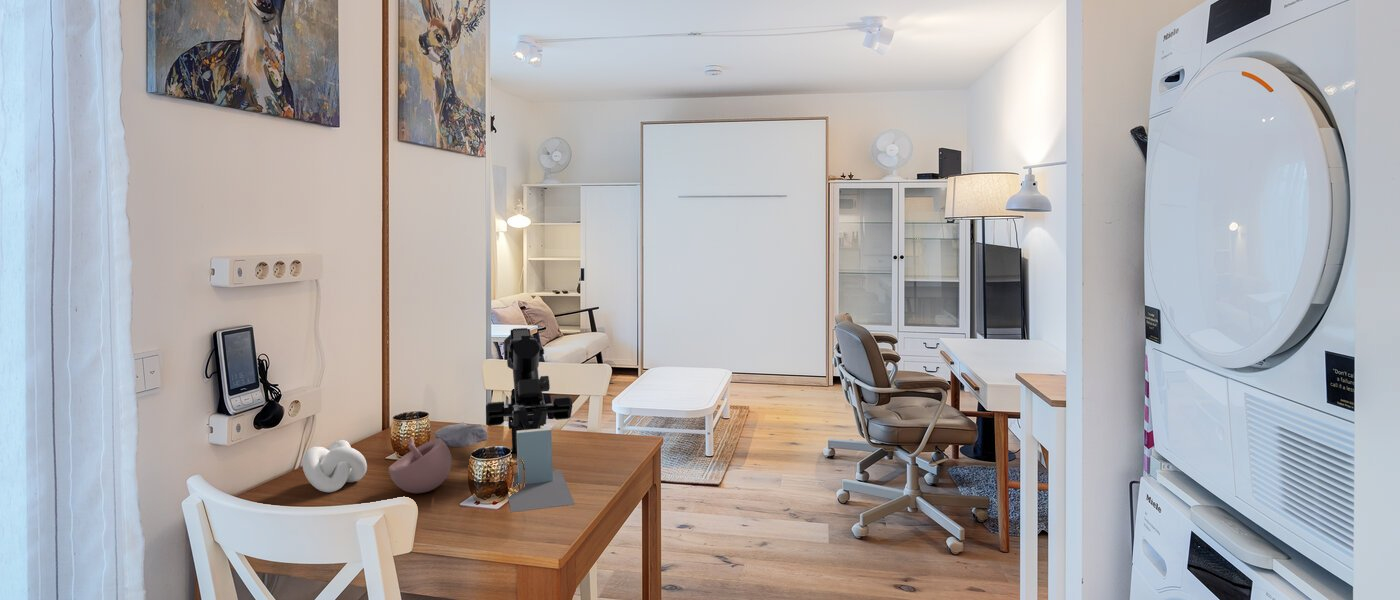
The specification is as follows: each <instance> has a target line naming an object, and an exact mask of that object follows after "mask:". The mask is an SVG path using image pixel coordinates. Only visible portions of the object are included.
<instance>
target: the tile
mask: <svg viewBox="0 0 1400 600" xmlns="http://www.w3.org/2000/svg"><path fill="white" fill-rule="evenodd" d="M516 432H517V453H516V455H517V456H516V457H517V458H516V460H517V461H518V462H517V474H518V483H519V485H520V484H522V482H523V464H522V462H521V461H519V460H520V459H522V460H523V462H524V468H525V484H530V483H539V482H548V481H553V445H552V444H553V443H552V442H553V441H552V440H553V439H552V437H553V436H552V429H551V427H543V428H541V427H540V429H530V430H519V431H516Z"/></svg>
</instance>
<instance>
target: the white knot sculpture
mask: <svg viewBox="0 0 1400 600" xmlns="http://www.w3.org/2000/svg"><path fill="white" fill-rule="evenodd" d="M301 465H302V470H303V473H304V475H305V477H306V479H307V481H308V482H309V484H311V485H312V487H314V488H315V489H317V490H318V491H320V492H324V493H334V492H337V491H338V490H340V489H341V488H342V487H343V486H344V485H345V484H346V483H355V482H357V481H360V480H361V479H363V478H364V476H365V474H367V469H368V464H367V460H366V458H365V456H364V455H363V454H362V453H361V452H360V451H359V450H357V449H355V448H353V447H351V445H350V443H349V442H348V441H347V440H344V439H339V440H336V441H334V442H333V443H331V445H329V447H328V448H326V447H323V446H312V447H311V448H308V449H307V450H306V451H305V453H304V454H303V456H302V460H301Z"/></svg>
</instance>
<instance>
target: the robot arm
mask: <svg viewBox="0 0 1400 600" xmlns="http://www.w3.org/2000/svg"><path fill="white" fill-rule="evenodd" d="M544 354H545V349H544V347H543V346H542V345H541V342H538V339H537V338H535V337H534V336H532V334H531V329H530V328H528V327H524V328H523V327H522V328H521V327H519V328H512V329H510V334H509V336H507V338H505V339H504V341H503V355H504V361H506V364H507V367H508V368H509V369H511V370H512V376H513V377H512V378H513V386H514V387H513V389H511V394H510V403H508V404H507V407H505V401H493V402H492V401H491V402H488V403H486V405H485V423H486V426H488V427H491V426H501V425H502V424H503V423H504V422H505V418H507V422H508V423H507V424H508V430H511V450H512V452H514V453H513V454H517V432H516V431H519V430H530V429H541V427H544V426H545V425H546V424H547V417H548V413H549V414H550V413H551V414H552V417H553V418H554V419H555V420H559V421H560V420H568V419H570V418H571V417H572V411H573V400H572V398H571V397H570V396H569V395H568V396H557V397H553V401H552V403H544V401H543V398H544V397H543V393H544V392H549V391H550V389H551V388H550V376H549V375H542V376H541V375H540V377H539V369H538V368H539V367H540V366H539V364H540V358H542V356H543V355H544Z"/></svg>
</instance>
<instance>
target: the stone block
mask: <svg viewBox="0 0 1400 600" xmlns="http://www.w3.org/2000/svg"><path fill="white" fill-rule="evenodd" d="M434 437H435V439H438V438H440V439H442V440H443V442H444V443H445V444H446V445H447V446H449V447H453V448H454V447H455V448H465V447H469V446H472V445H475V444H478V443H481V442H483V441H487V440H488V431H487V429H486V426H483V424H467V423H465V422H459V423H456V424H448V425H445V426H442V427H441V428H439V429H436V431H435V432H434Z"/></svg>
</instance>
